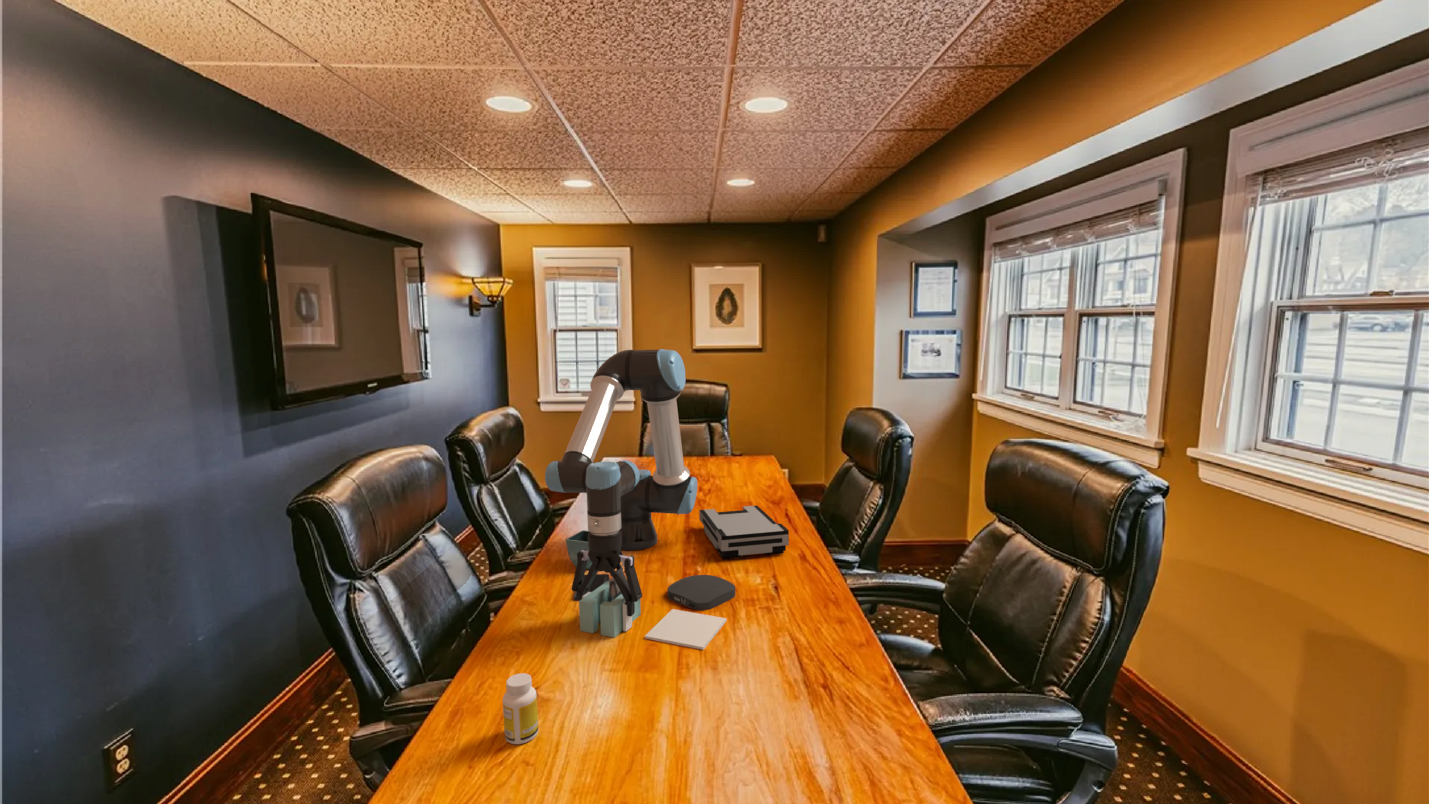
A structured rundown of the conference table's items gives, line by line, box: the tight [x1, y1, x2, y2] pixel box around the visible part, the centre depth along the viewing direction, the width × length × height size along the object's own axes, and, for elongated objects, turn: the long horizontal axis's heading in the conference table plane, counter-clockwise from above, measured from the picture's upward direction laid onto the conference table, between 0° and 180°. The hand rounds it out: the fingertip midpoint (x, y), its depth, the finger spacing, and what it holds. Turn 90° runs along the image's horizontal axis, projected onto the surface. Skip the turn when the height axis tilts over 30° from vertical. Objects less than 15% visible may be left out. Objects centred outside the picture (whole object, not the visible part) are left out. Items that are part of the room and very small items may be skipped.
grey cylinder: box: [609, 577, 621, 602], centre depth 142 cm, size 3×3×10 cm
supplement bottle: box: [502, 672, 539, 745], centre depth 101 cm, size 5×5×10 cm
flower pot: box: [565, 530, 592, 570], centre depth 175 cm, size 9×9×9 cm
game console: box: [698, 505, 790, 560], centre depth 195 cm, size 21×32×8 cm, turn 13°
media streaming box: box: [667, 574, 736, 611], centre depth 155 cm, size 15×15×3 cm
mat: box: [644, 608, 728, 651], centre depth 137 cm, size 14×14×1 cm
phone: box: [573, 573, 610, 602], centre depth 160 cm, size 8×1×15 cm
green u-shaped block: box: [578, 581, 642, 638], centre depth 140 cm, size 12×9×7 cm
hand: (607, 624), depth 139 cm, fingers open, 10 cm apart
